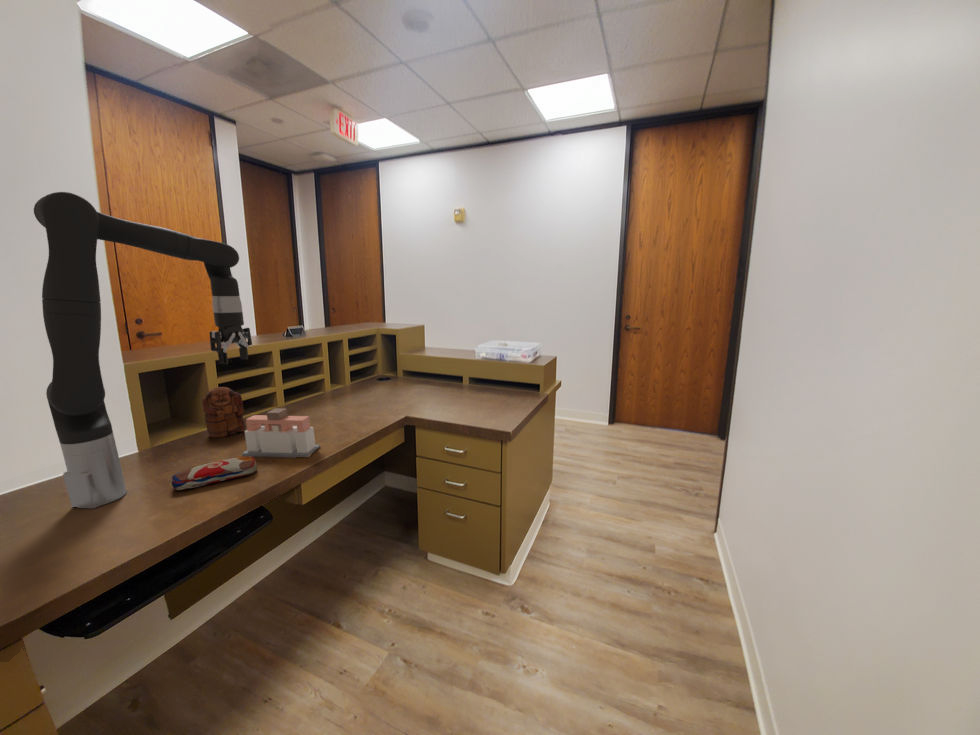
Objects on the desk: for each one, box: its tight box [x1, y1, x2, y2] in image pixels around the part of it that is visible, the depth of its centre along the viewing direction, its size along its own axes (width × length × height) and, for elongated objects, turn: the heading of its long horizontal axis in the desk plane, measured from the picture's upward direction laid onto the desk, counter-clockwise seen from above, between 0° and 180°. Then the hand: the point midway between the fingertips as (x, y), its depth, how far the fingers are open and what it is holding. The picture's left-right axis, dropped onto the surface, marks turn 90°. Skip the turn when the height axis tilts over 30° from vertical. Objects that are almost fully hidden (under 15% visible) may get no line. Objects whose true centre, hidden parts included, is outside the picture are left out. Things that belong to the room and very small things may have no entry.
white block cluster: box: [241, 424, 321, 458], centre depth 124 cm, size 8×22×10 cm, turn 87°
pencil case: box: [170, 456, 258, 491], centre depth 106 cm, size 11×20×5 cm, turn 108°
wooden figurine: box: [202, 386, 246, 438], centre depth 138 cm, size 12×6×18 cm, turn 134°
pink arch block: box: [245, 407, 311, 432], centre depth 122 cm, size 4×19×6 cm, turn 87°
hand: (234, 361), depth 120 cm, fingers open, 8 cm apart
